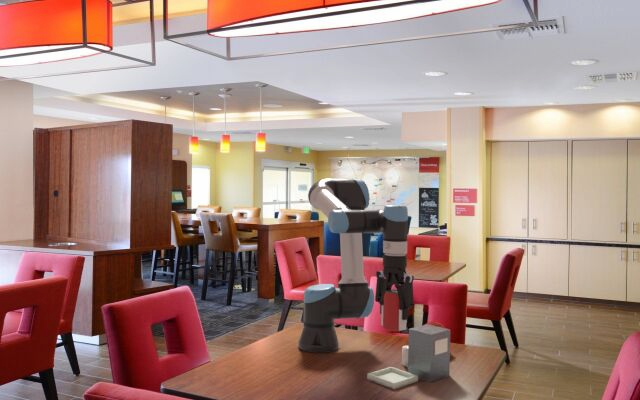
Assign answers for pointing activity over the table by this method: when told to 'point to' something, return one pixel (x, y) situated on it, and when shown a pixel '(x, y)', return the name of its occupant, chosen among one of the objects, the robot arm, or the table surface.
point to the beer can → (391, 310)
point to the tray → (392, 377)
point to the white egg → (405, 356)
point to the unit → (429, 352)
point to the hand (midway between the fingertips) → (393, 327)
